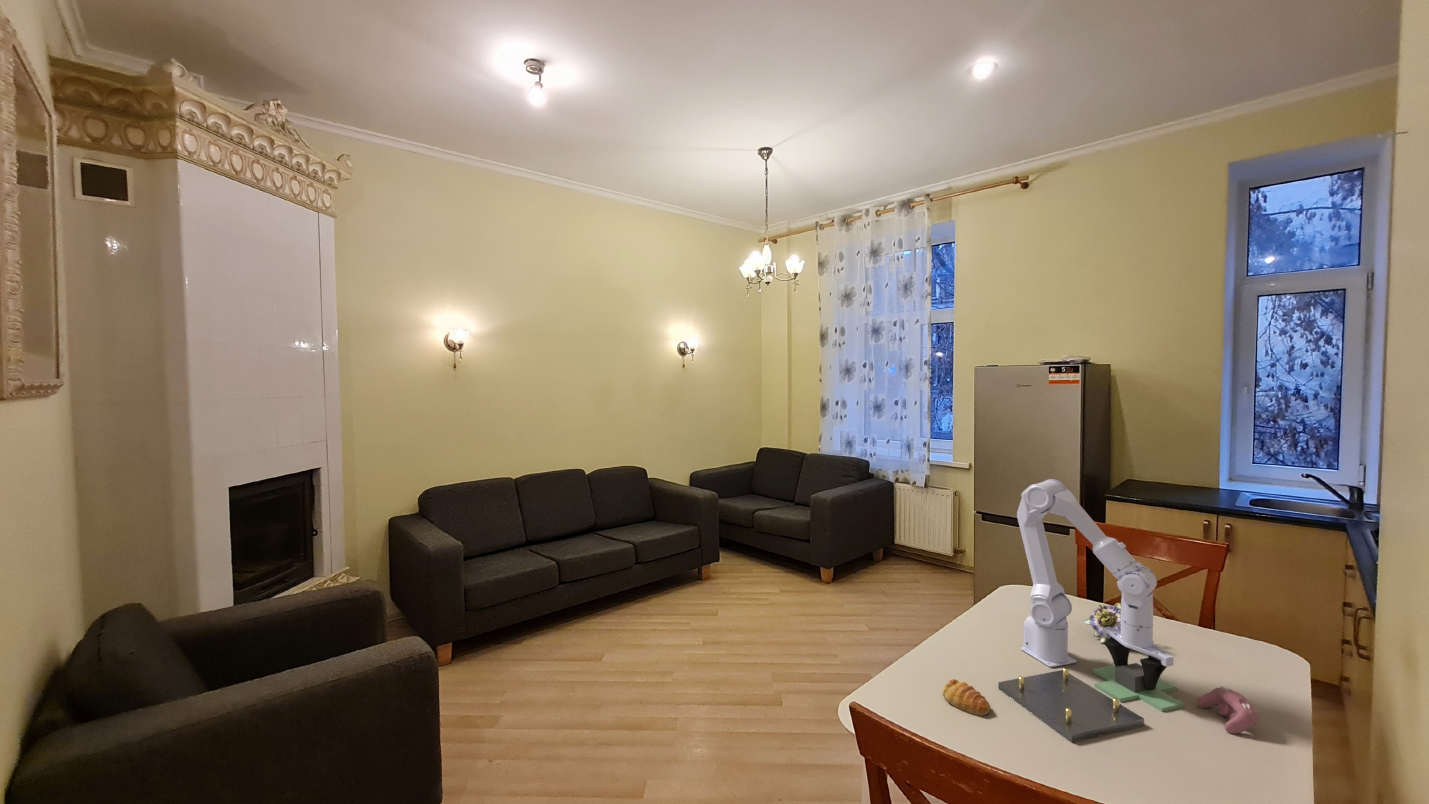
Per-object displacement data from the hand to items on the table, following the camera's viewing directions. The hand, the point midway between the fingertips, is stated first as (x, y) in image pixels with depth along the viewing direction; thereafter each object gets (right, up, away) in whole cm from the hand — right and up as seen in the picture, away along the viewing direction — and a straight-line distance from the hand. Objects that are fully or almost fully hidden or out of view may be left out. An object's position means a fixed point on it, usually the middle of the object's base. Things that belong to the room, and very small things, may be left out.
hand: (1135, 681), depth 124 cm
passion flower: (+11, -1, +21) cm, 24 cm away
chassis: (-19, -2, -6) cm, 20 cm away
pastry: (-40, -3, -3) cm, 40 cm away
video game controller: (+10, -2, -12) cm, 15 cm away
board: (0, -2, 0) cm, 2 cm away
